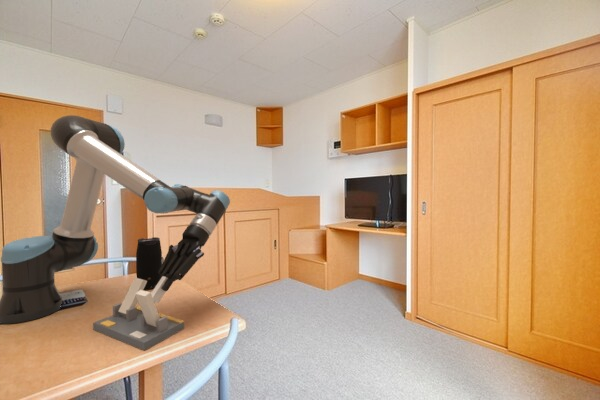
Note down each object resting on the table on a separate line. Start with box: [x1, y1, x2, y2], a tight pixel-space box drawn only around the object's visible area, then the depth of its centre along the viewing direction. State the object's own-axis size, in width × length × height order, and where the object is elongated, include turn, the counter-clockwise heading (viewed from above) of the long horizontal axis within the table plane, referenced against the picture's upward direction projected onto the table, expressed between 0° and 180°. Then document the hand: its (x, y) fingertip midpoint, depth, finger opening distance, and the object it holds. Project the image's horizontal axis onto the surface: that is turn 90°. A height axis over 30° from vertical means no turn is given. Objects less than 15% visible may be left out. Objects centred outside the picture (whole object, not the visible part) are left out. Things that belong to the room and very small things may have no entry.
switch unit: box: [92, 302, 185, 351], centre depth 77 cm, size 22×12×5 cm, turn 64°
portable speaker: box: [135, 236, 163, 290], centre depth 110 cm, size 9×9×20 cm
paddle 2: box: [135, 289, 160, 327], centre depth 73 cm, size 5×2×10 cm, turn 64°
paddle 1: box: [118, 277, 147, 316], centre depth 82 cm, size 5×2×10 cm
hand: (153, 300), depth 74 cm, fingers closed
